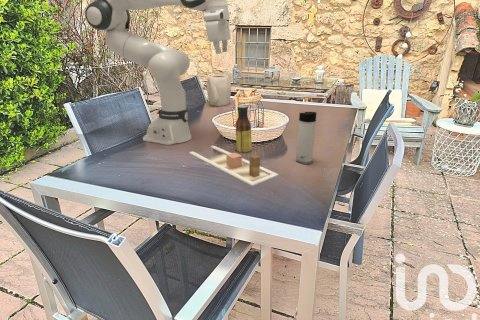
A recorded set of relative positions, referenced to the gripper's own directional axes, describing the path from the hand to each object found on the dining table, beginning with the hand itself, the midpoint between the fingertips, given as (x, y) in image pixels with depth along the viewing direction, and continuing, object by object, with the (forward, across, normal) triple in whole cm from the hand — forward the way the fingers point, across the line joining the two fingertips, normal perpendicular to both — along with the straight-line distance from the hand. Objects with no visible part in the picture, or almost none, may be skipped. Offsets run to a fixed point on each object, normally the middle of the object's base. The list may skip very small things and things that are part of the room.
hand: (221, 52), depth 132 cm
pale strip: (+40, +28, +9) cm, 49 cm away
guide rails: (+40, +26, +6) cm, 48 cm away
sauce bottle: (+40, +11, +8) cm, 42 cm away
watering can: (+36, -71, -28) cm, 84 cm away
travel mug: (+43, +14, +33) cm, 55 cm away
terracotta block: (+38, +27, +8) cm, 48 cm away
